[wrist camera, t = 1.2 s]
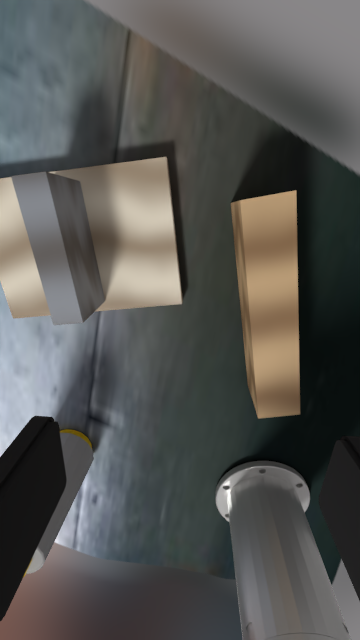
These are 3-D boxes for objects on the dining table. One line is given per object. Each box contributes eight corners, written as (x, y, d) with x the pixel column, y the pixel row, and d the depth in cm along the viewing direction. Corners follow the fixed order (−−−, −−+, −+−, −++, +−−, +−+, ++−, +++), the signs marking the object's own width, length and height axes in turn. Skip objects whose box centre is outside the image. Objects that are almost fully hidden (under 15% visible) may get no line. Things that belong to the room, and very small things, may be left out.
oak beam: (282, 379, 32) (300, 414, 27) (247, 383, 33) (258, 418, 27) (274, 195, 26) (296, 190, 20) (230, 203, 26) (240, 200, 20)
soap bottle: (39, 427, 36) (-93, 607, 20) (89, 422, 36) (-3, 605, 19) (55, 466, 39) (-51, 656, 22) (102, 462, 38) (31, 655, 21)
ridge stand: (182, 299, 29) (178, 326, 22) (21, 313, 31) (-30, 343, 24) (167, 159, 25) (157, 138, 18) (-21, 184, 26) (-100, 173, 19)
